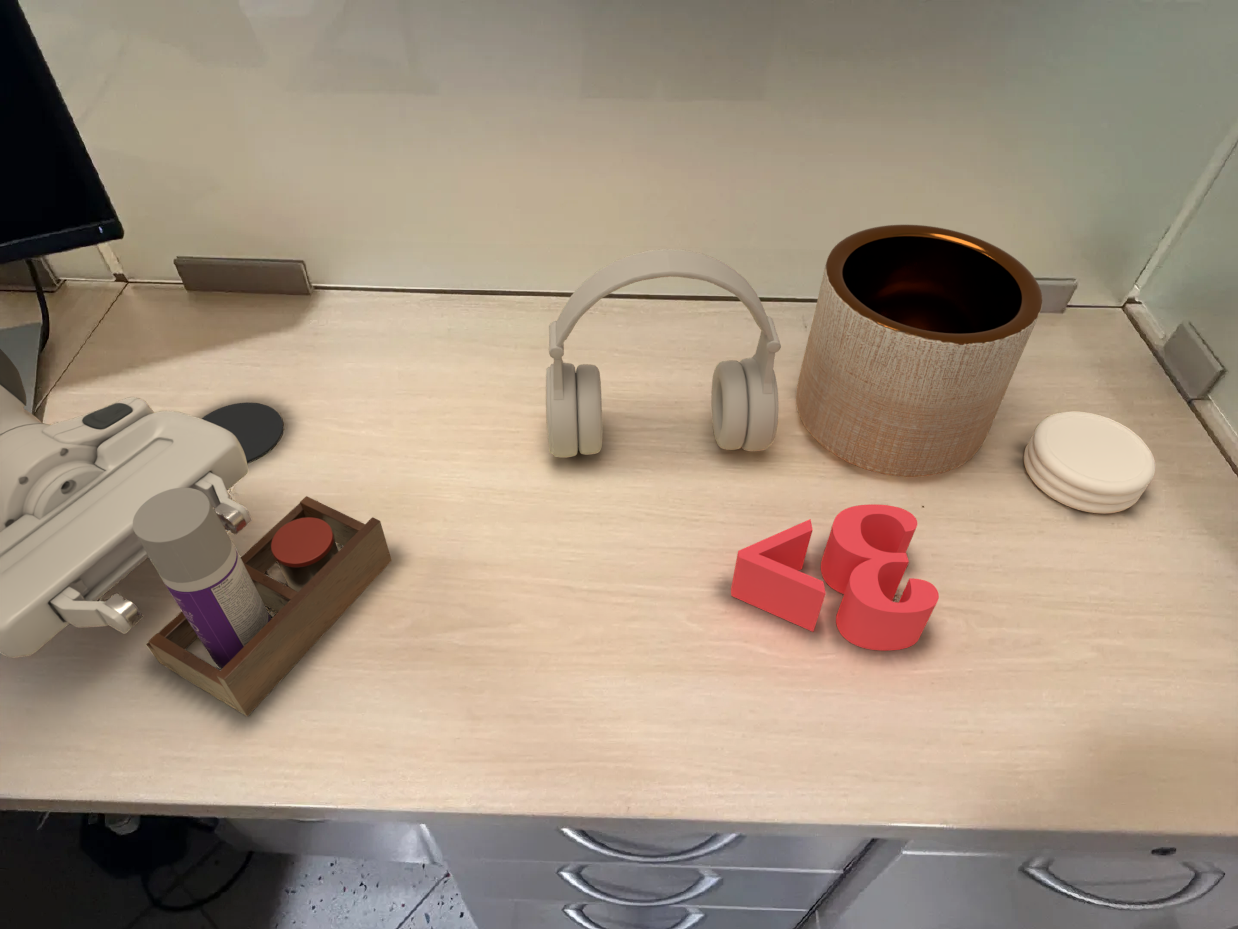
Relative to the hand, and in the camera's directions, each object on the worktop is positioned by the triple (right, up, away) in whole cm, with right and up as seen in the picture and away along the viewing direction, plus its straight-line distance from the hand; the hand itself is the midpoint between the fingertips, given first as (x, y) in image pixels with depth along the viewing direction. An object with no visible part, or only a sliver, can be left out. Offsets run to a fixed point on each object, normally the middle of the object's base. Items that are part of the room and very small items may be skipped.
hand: (189, 568), depth 57 cm
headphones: (+33, +9, +21) cm, 40 cm away
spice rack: (+3, -4, +8) cm, 9 cm away
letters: (+45, -3, +10) cm, 46 cm away
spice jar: (+5, -2, +10) cm, 11 cm away
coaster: (+71, +6, +19) cm, 73 cm away
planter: (+55, +11, +24) cm, 61 cm away
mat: (-6, +10, +21) cm, 24 cm away
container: (+1, -7, +6) cm, 9 cm away
